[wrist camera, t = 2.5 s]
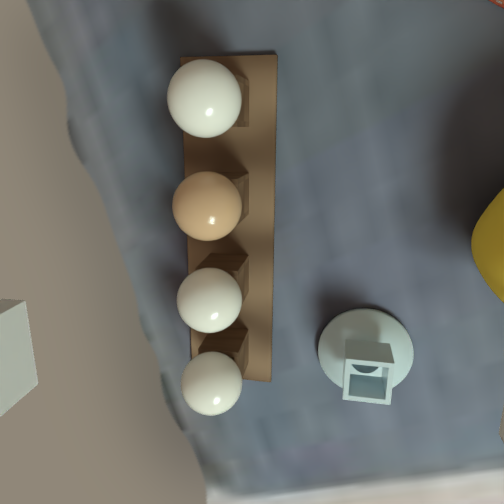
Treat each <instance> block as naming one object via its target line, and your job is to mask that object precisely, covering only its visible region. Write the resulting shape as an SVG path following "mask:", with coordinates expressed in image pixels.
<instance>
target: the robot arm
mask: <svg viewBox="0 0 504 504" xmlns="http://www.w3.org/2000/svg"><path fill="white" fill-rule="evenodd" d="M37 384H38V379H37V373H36V367H35V360H34V353H33V347H32V341H31V335H30V328H29V322H28V315H27V309H26V302H25V300H11V299H1V300H0V416H2V415H3V414H4V413H5V412H6V411H7V410H9V409H10V408H11V407H12V406H13V405H14V404H16V403H17V402H18V401H19V400H20V399H21V398H22V397H24V396H25V395H26V394H27V393H28V392H29V391H31V390H32V389H33V388H34V387H35V386H36V385H37ZM499 435H500V437H501V439H502V440H503V442H504V407H503V413H502V418H501V424H500V429H499Z"/></svg>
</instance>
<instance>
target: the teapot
mask: <svg viewBox="0 0 504 504" xmlns="http://www.w3.org/2000/svg"><path fill="white" fill-rule="evenodd" d="M471 248H472V254H473V258H474V261H475V263H476V265H477V268H478V270H479V272H480V273H481V275H482V277H483V278H484V280H485V281H486V283H487V284H488V286H489V287H490V288H491V290H492V291H493V292H494V293H495V294H496V295H497V296H498V298H499V299H500V300H501V301H502V302H503V303H504V188H503V189H502V190H501V191H500V192H499V193H498V195H497V196H496V197H495V198H494V200H493V201H492V202H491V203H490V204H489V206H488V207H487V208H486V210H485V211H484V213H483V214H482V216H481V217H480V218H479V220H478V221H477V224H476V226H475V228H474V230H473V234H472V240H471Z"/></svg>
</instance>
